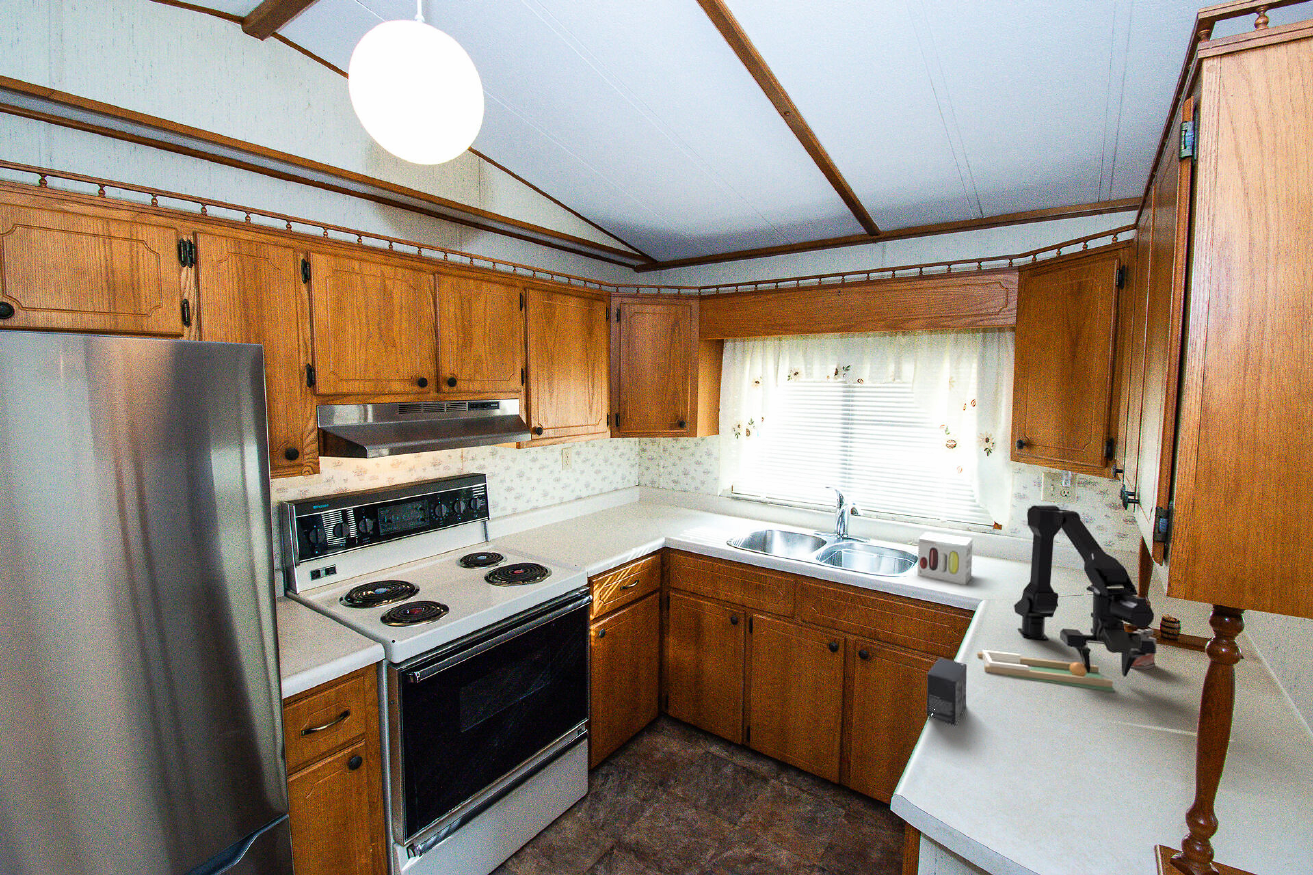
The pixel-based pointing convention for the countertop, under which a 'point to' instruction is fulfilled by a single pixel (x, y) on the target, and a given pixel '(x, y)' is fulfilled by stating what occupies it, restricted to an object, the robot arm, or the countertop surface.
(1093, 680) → the track
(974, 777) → the countertop surface
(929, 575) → the supplement box
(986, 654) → the white u-shaped frame
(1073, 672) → the ball
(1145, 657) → the lighter
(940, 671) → the small box
